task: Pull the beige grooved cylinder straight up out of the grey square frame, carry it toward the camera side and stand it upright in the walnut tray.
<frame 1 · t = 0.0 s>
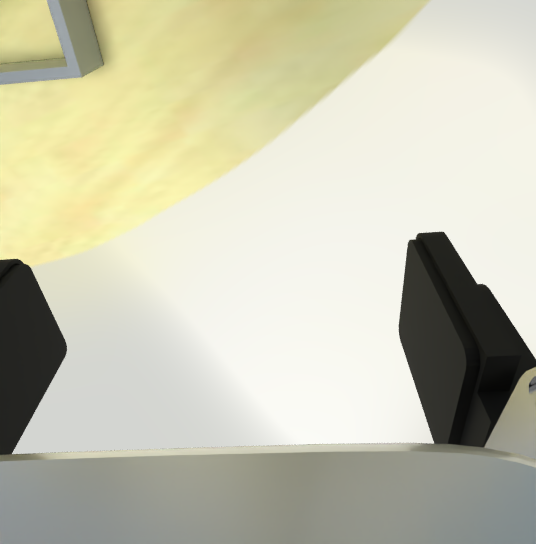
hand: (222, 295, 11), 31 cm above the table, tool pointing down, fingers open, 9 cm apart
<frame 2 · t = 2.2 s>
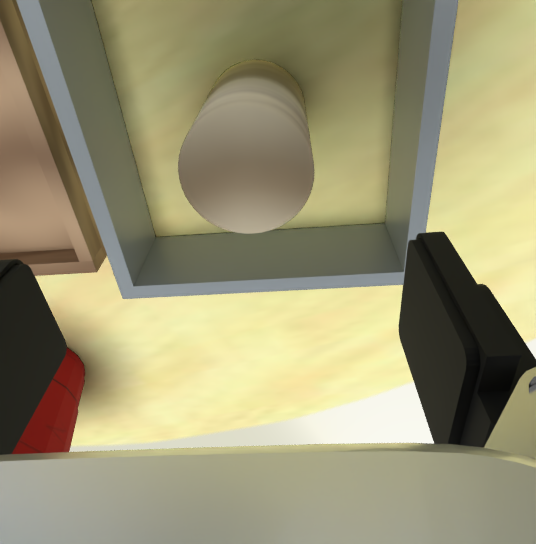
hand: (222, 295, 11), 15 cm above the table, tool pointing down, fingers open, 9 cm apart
grey square frame: (256, 112, 23), on the table
beige grooved cylinder: (256, 112, 23), resting in grey square frame
plastic cup: (52, 363, 35), on the table
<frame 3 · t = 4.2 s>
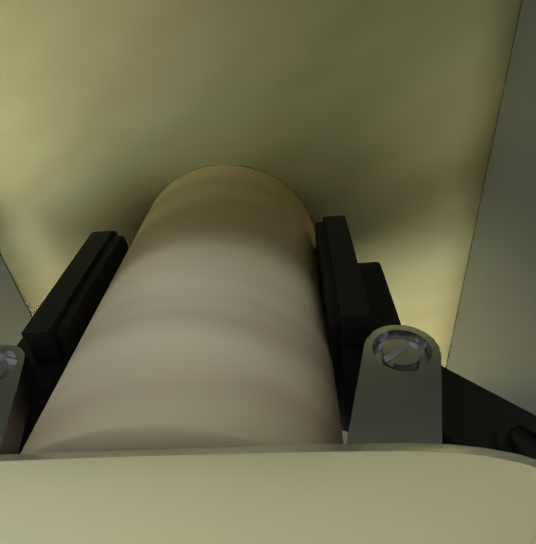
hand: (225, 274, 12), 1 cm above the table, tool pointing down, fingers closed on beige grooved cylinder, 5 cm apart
grey square frame: (230, 246, 13), on the table
beige grooved cylinder: (230, 246, 13), resting in grey square frame, touching gripper
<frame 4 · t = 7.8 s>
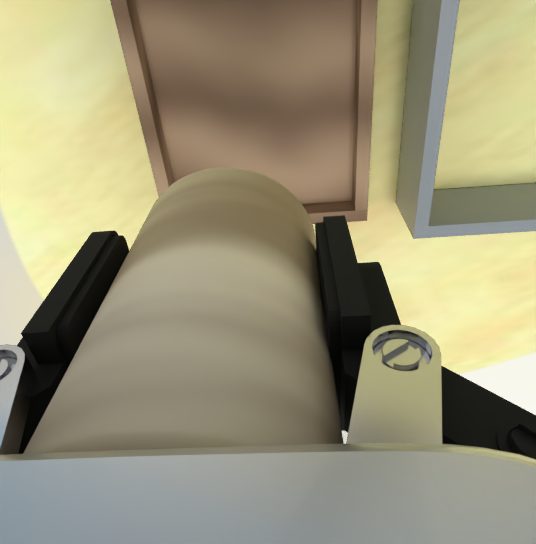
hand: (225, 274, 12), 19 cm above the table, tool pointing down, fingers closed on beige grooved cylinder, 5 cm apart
beige grooved cylinder: (230, 248, 13), point 18 cm above the table, touching gripper
tray: (255, 99, 27), on the table
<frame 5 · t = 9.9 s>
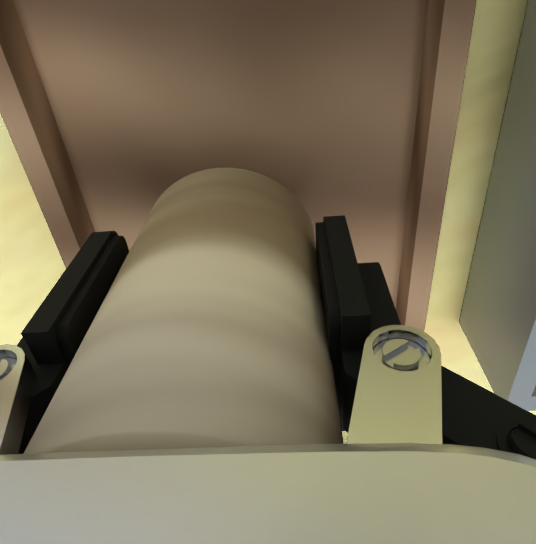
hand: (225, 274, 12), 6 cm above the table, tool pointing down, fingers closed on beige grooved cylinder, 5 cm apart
beige grooved cylinder: (230, 248, 13), point 5 cm above the table, touching gripper
tray: (244, 179, 17), on the table
when the fingers open (3 cm above the table, at t = 11.4 s): beige grooved cylinder stays where it is, resting on tray.
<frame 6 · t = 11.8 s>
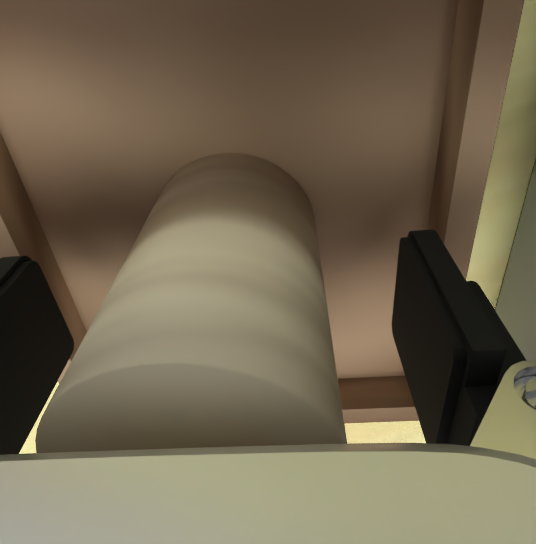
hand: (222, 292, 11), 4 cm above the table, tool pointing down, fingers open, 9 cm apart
beige grooved cylinder: (235, 230, 14), point 1 cm above the table, touching tray
tray: (235, 218, 14), on the table
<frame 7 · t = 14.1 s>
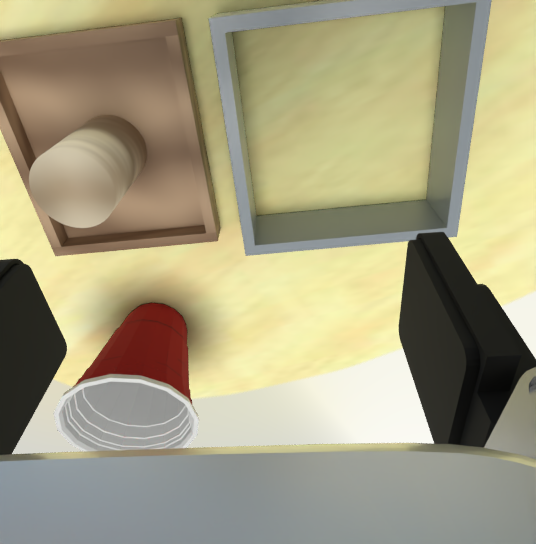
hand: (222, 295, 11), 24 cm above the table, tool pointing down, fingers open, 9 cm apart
grey square frame: (338, 121, 33), on the table
beige grooved cylinder: (113, 149, 33), point 1 cm above the table, touching tray
plastic cup: (160, 325, 44), on the table
tray: (115, 145, 34), on the table
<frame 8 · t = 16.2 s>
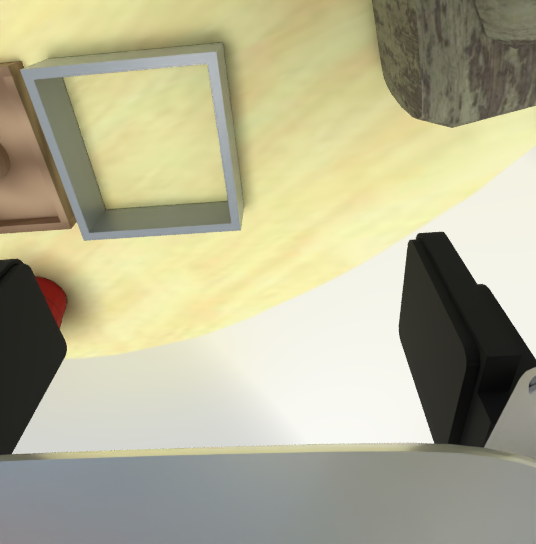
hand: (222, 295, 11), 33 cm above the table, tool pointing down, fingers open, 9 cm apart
grey square frame: (154, 139, 42), on the table
plastic cup: (45, 295, 54), on the table
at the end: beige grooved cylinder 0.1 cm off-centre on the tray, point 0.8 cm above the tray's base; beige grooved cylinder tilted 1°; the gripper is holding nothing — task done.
